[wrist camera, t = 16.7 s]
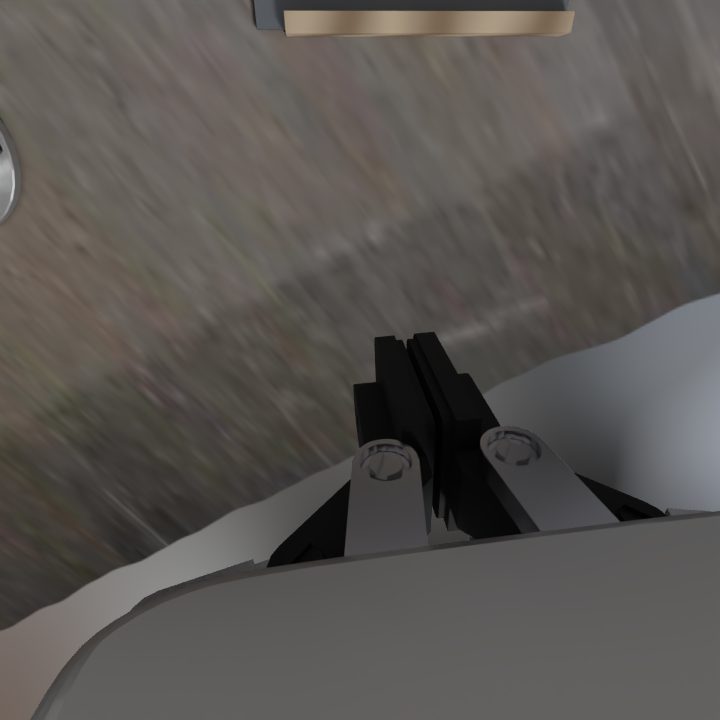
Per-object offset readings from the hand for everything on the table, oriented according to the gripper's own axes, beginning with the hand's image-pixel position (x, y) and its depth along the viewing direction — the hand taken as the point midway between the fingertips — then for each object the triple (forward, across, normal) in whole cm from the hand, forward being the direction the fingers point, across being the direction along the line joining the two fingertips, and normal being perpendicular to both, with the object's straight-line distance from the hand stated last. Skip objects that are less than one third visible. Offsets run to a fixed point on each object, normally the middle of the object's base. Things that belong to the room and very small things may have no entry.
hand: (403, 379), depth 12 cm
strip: (+28, -7, -11) cm, 31 cm away
